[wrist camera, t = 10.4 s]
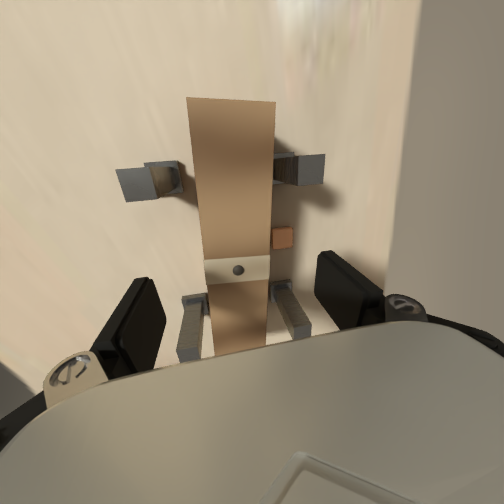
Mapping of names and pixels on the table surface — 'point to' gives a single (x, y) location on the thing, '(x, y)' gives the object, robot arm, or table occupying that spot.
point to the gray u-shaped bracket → (169, 181)
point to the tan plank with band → (234, 213)
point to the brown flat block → (282, 237)
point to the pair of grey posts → (198, 306)
